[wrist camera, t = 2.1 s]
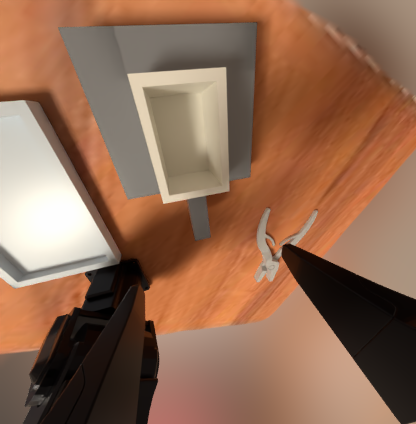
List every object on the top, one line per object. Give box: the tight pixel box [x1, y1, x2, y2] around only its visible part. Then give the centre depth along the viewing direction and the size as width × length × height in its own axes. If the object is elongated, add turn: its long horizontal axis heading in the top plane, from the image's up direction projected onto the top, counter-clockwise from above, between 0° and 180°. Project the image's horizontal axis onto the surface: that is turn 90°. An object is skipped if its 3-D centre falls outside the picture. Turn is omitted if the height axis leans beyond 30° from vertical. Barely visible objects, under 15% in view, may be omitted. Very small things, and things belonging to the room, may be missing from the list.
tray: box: [0, 100, 122, 288], centre depth 15 cm, size 17×11×2 cm
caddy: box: [127, 67, 230, 241], centre depth 15 cm, size 13×6×6 cm, turn 6°
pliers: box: [254, 208, 318, 282], centre depth 27 cm, size 10×2×15 cm
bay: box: [58, 22, 257, 199], centre depth 14 cm, size 11×12×2 cm
